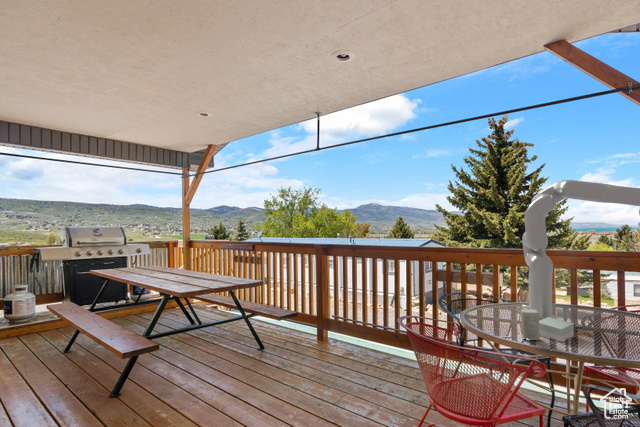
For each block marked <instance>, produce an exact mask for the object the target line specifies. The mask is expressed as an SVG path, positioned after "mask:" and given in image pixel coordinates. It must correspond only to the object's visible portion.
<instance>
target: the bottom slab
mask: <svg viewBox="0 0 640 427" xmlns="http://www.w3.org/2000/svg"><path fill="white" fill-rule="evenodd" d="M574 332H575V331H574V330H573V331H571V332H569V333H567V334H565V335H563V336H558V335H555V334H552V333H549V332H545V331H542V330H539V333H540V337H543V336H544V338H546V337H548V338H547V339H549V338H552V339H556V340H559V341H563V340H565V341H567V340H568V339H567V338H569V339H571V338H573V337H574V336H575V335H574ZM570 337H571V338H570ZM552 339H551V340H552ZM566 339H567V340H566ZM556 340H555V341H556ZM559 341H558V342H559ZM563 342H564V341H563Z"/></svg>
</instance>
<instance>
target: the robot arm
mask: <svg viewBox="0 0 640 427" xmlns="http://www.w3.org/2000/svg"><path fill="white" fill-rule="evenodd" d="M565 199H570V200H577V201H578V200H579V201H585V202H594V203H603V204H605V203H606V204H617V205H618V204H620V205H629V206H634V207H640V187H632V186H631V187H630V186H623V185H613V184H609V183H602V182H592V181H583V180H575V179H561V180H559V181H557V182H556V183H553V184H552V185H551V186H550V185H549V187H547V188H545V189H543V190H542V191H540V192H538V193H536V194H535V195H534V196H533V197H532V198H531V203H530V204H529V205H528V207H527V208H526V210H525V213H524V229H525V231H524V232H523V234H522V238H521V239H522V241H521V242H522V248H523V255H524V256H523V257H524V261H525V264H526V265H527V266H528V267H529V271H528V272H529V273H528V305H525V304H522V305H521V309H532V310H537V311H538V313H539V321H540V320H542V319H545V318H547V317H551V318H555V319H557V317H556V316H555V315H554V314H553V273H554V263H553V261H552V259H551V257H550V256H549V255H547V253H546V248H547V247H548V244H549V240H548V233H547V228H546V227H547V225H546V218H547V215H548V213H550V212H552V211H553V210H554V209H555V208H556V206H557V204H558V203H560V202H561V201H563V200H565Z"/></svg>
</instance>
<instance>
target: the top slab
mask: <svg viewBox="0 0 640 427" xmlns="http://www.w3.org/2000/svg"><path fill="white" fill-rule="evenodd" d="M539 330H542V331H545V332H549V333H552V334H555V335H558V336H563V335H565V334H567V333H569V332H571V331H574V323H573V322H569V321H565V320H562V319H557V318H556V319H555V318H551V317H547V318H545V319H542V320H540V321H539Z"/></svg>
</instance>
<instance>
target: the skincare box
mask: <svg viewBox="0 0 640 427" xmlns="http://www.w3.org/2000/svg"><path fill="white" fill-rule="evenodd" d="M520 332H521V333H520V334H521V339H523V338H528V339H533V340H540V339H541V338H540V337H541V336H540V333H539V313H538V311H537V310H532V309H522V308H521V309H520ZM540 341H541V340H540Z"/></svg>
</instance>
